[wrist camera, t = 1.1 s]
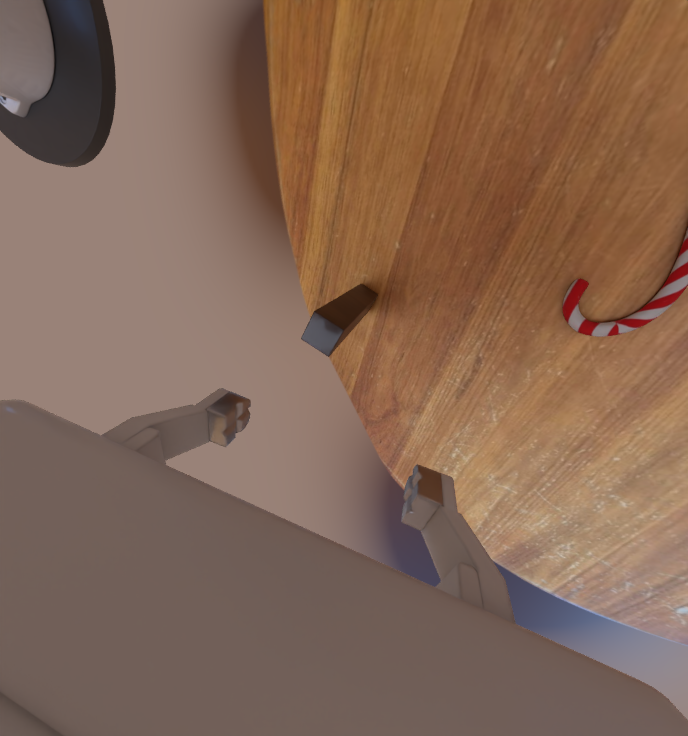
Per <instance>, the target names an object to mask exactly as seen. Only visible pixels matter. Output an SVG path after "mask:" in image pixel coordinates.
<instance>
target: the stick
mask: <svg viewBox="0 0 688 736" xmlns="http://www.w3.org/2000/svg"><path fill="white" fill-rule="evenodd" d="M377 297H378V294H376V293H375V292H373V291H372V290H370V289H369V288H367V287H366V286H364V285H363V284H360V285H358V286H356V287H355V288H353V289H351V290H350V291H348V292H346V293H344V294H343V295H341V296H339V297H338V298H336V299H334V300H333V301H331V302H329V303H327V304H326V305H324V306H322V307H321V308H319V309H317V310H316V311H314V313H313V315H312V317H311V319H310V321H309V323H308V325H307V327H306V329H305V331H304V333H303V335H302V338H301V339H302V340H304V341H305V342H307V343H308V344H310V345H311V346H313V347H314V348H316V349H317V350H319V351H321V352H322V353H324V354H325V355H327V356H328V357H329V356H330V355H331V354H332V353H333V351H334V350H335V349H336V348H337V347H338V346H339V345H340V343H341V342H342V341H343V340H344V339H345V338H346V337H347V335H348V334H349V333H350V332H351V331H352V330H353V329H354V327H355V326H356V325H357V324H358V323H359V322H360V321H361V319H362V318H363V317H364V316H365V315H366V314H367V313H368V311H369V310H370V308H371V306H372V305H373V303H374V301H375V300H376V298H377Z"/></svg>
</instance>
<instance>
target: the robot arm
mask: <svg viewBox="0 0 688 736" xmlns="http://www.w3.org/2000/svg"><path fill="white" fill-rule="evenodd" d="M53 75H54V46H53V39H52V33H51V28H50V23H49V19H48V16H47V12H46V9H45V6H44V2H43V0H0V103H1V104H2V105H3V106H4V107H5V108H6V109H8V110H9V111H10V112H11V113H13V114H16V115H18V116H20V117H26V115H27V114H28V112H29V109H30V107H31V104H32V103H34V102H36V101H38V100H40V99H42V98H43V97H44V96H45V95H46V94H47V93H48V91H49V89H50V87H51V84H52V80H53ZM250 405H251V402H250V400H249V399H247V398H245V397H243V396H240V395H238V394H235V393H233V392H230V391H228V390H225V389H223V388H221V389H218V390H217V391H215V392H214V393H212V394H211V395H209V396H208V397H206V398H205V399H203V400H202V401H201V402H199V403H198V404H196V405H195V406H194V405H188V406H183V407H179V408H174V409H169V410H165V411H160V412H156V413H151V414H146V415H142V416H138V417H132V418H130V419H129V420H127V421H125V422H123V423H122V424H120V425H118V426H116V427H115V428H113V429H111V430H110V431H108V432H106V433H104V434H103V435H99V434H97V433H94V432H92V431H90V430H88V429H86V428H83V427H81V426H79V425H77V424H75V423H72V422H70V421H68V420H66V419H63V418H61V417H59V416H57V415H55V414H53V413H50V412H48V411H46V410H44V409H42V408H39V407H38V406H35V405H33V404H31V403H29V402H26V401H22V400H2V401H0V736H688V720H687V719H686V718H685V717H684V716H683V715H682V713H681V712H679V710H678V709H677V708H676V707H675V706H674V705H673V704H672V703H671V702H670V700H669V699H668V698H666V697H665V696H664V695H663V694H662V693H660V692H659V691H657V690H656V689H655V688H653V687H652V686H649V685H648V684H646V683H644V682H642V681H640V680H638V679H636V678H633V677H631V676H629V675H627V674H624V673H622V672H620V671H618V670H616V669H613V668H611V667H609V666H607V665H605V664H603V663H600V662H598V661H596V660H593V659H592V658H589V657H587V656H585V655H583V654H580V653H578V652H576V651H574V650H572V649H569V648H567V647H565V646H563V645H561V644H558V643H556V642H554V641H552V640H549V639H547V638H545V637H543V636H541V635H539V634H536V633H534V632H532V631H530V630H528V629H525V628H523V627H521V626H518V625H517V624H516V623H515V620H514V615H513V611H512V607H511V602H510V598H509V594H508V590H507V586H506V581H505V579H504V577H503V576H502V575H501V573H500V571H499V570H498V568H497V567H496V565H495V564H494V563H493V561H492V560H491V558H490V557H489V555H488V554H487V552H486V551H485V549H484V548H483V546H482V545H481V543H480V542H479V540H478V539H477V537H476V536H475V534H474V533H473V531H472V530H471V528H470V527H469V525H468V524H467V522H466V521H465V519H464V518H463V516H462V515H461V514H460V513H458V512H457V504H456V497H455V489H454V481H453V478H452V477H450V476H447V475H445V474H442V473H439V472H437V471H434V470H431V469H429V468H426V467H423V466H421V465H418V464H417V465H416V466H415V467H414V469H413V475H412V476H409V478H408V480H407V483H406V486H405V490H404V500H405V504H404V506H403V510H402V523H405V524H407V525H409V526H411V527H413V528H415V529H418V530H420V531H422V532H421V533H422V535H423V538H424V540H425V543H426V545H427V548H428V550H429V552H430V555H431V557H432V560H433V562H434V565H435V567H436V570H437V572H438V575H439V577H440V579H441V582H440V583H439V584H438V585H437V586H436V587H433V586H431V585H428V584H426V583H424V582H422V581H420V580H418V579H415V578H413V577H411V576H409V575H407V574H404V573H402V572H400V571H398V570H395V569H393V568H391V567H389V566H387V565H385V564H382V563H380V562H378V561H376V560H374V559H371V558H369V557H367V556H365V555H363V554H360V553H358V552H356V551H354V550H352V549H349V548H347V547H345V546H343V545H341V544H338V543H336V542H334V541H332V540H330V539H327V538H325V537H323V536H320V535H319V534H316V533H314V532H312V531H310V530H307V529H305V528H303V527H301V526H299V525H297V524H294V523H292V522H290V521H288V520H286V519H283V518H281V517H279V516H277V515H275V514H272V513H270V512H268V511H266V510H264V509H261V508H259V507H257V506H255V505H253V504H250V503H248V502H246V501H244V500H241V499H239V498H237V497H235V496H233V495H231V494H228V493H226V492H224V491H222V490H219V489H217V488H215V487H213V486H211V485H209V484H206V483H204V482H202V481H200V480H198V479H195V478H193V477H191V476H189V475H187V474H184V473H182V472H180V471H178V470H176V469H173V468H171V467H169V466H167V465H166V462H165V460H168V459H170V458H173V457H175V456H177V455H180V454H182V453H184V452H187V451H189V450H191V449H194V448H196V447H198V446H201V445H203V444H206V443H208V442H209V441H211V442H213V443H216V444H219V445H221V446H224V447H226V446H228V444H229V443H230V442H231V441H232V440H233V439H234V438H235V434H236V433H238V432H241V431H242V430H243V429H244V428H245V427H246V425H247V424H248V422H249V419H250V412H249V410H248V408H249V407H250Z"/></svg>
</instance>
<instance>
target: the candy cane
mask: <svg viewBox="0 0 688 736" xmlns="http://www.w3.org/2000/svg"><path fill="white" fill-rule="evenodd" d="M588 285H589V283H588V282H587V281H585V280H583V279H576V280H575V281H574V282H573V283H572V285H571V286H570V288H569V289H568V291H567V293H566V295H565V298H564V301H563V315H564V317H565V320H566V321H567V323H568V324H569V325H570V326H571V327H572V328H573V329H574V330H576V331H577V332H579V333H582V334H585V335H590V336H612V335H618V334H622V333H626V332H629V331H632V330H635V329H637V328H639V327H641V326H643V325H645V324H647V323H649V322H651V321H652V320H654V319H655V318H657V317H658V316H659V315H661V314H662V313H663V312H664V311H665V310H667V309H668V308H669V307H670V306H671V305H672V304H673V303H674V302H675V301H676V300H677V299H678V297H679V296H680V295H681V294H682V293H683V291H684V290H685V289H686V287H687V286H688V229H687V232H686V235H685V238H684V241H683V244H682V247H681V250H680V253H679V255H678V258H677V260H676V263H675V265H674V267H673V269H672V271H671V273H670V275H669V277H668V279H667V280H666V282H665V284H664V285H663V287H662V288H661V289H660V291H659V292H658V293H657V294H656V296H655V297H654V298H653V299H652V300H651V301H650V302H649V303H648V304H647V305H645V306H644V307H643V308H642V309H640V310H639V311H637V312H636V313H634V314H632V315H630V316H628V317H626V318H624V319H621V320H617V321H613V322H607V323H597V322H591V321H588V320H587V319H585V318H584V317H583V316H582V315H581V313H580V311H579V308H578V304H579V300H580V298H581V296H582V294H583V292H584V291H585V290H586V288H587V287H588Z"/></svg>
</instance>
